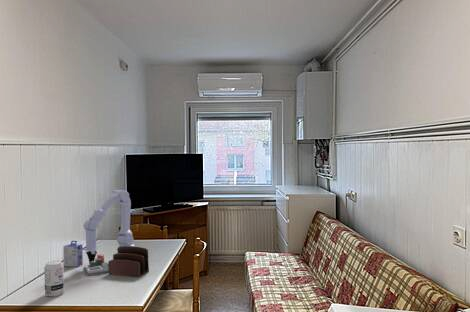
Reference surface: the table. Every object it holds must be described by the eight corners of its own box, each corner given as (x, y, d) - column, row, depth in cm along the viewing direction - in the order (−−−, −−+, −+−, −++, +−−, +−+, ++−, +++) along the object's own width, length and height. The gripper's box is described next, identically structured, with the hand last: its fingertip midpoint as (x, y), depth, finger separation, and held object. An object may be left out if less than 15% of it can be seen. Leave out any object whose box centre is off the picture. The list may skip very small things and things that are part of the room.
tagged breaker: (94, 265, 227) (94, 260, 227) (96, 267, 224) (95, 262, 224) (89, 266, 226) (89, 261, 226) (90, 268, 222) (90, 262, 222)
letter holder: (118, 269, 225) (118, 245, 225) (149, 272, 219) (148, 247, 219) (108, 274, 216) (107, 249, 216) (139, 277, 210) (139, 251, 210)
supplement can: (49, 291, 190) (48, 261, 190) (66, 290, 191) (65, 260, 191) (42, 297, 182) (41, 265, 182) (60, 297, 183) (59, 265, 183)
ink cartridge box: (83, 264, 236) (82, 240, 236) (78, 267, 231) (77, 242, 230) (68, 263, 238) (68, 240, 238) (63, 266, 233) (62, 242, 232)
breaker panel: (106, 264, 235) (106, 260, 235) (113, 271, 220) (113, 267, 220) (84, 267, 229) (83, 263, 229) (88, 275, 214) (88, 271, 214)
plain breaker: (100, 263, 233) (100, 258, 233) (101, 264, 229) (101, 259, 229) (95, 263, 231) (95, 258, 231) (96, 265, 228) (96, 260, 228)
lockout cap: (103, 262, 240) (103, 253, 240) (104, 263, 237) (104, 255, 237) (96, 263, 238) (96, 254, 238) (98, 264, 235) (97, 256, 235)
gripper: (82, 239, 232) (82, 261, 232) (85, 243, 219) (86, 268, 219) (94, 237, 235) (94, 260, 235) (99, 242, 223) (99, 266, 223)
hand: (91, 263), depth 228 cm, fingers closed
